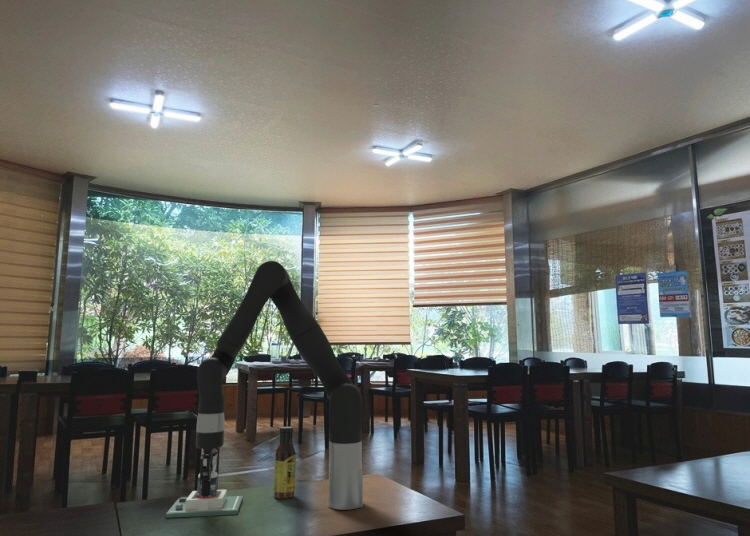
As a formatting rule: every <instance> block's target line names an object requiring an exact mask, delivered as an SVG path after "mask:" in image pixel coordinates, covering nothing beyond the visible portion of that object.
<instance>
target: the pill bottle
mask: <svg viewBox="0 0 750 536" xmlns="http://www.w3.org/2000/svg"><path fill="white" fill-rule="evenodd" d="M210 469H211V467H210ZM215 470H216V472H215ZM218 475H219V474H218V472H217V466H216V464H214V471H213V472H212V474H211V484H210V495H209V496H201V488H202V482H201V481H200V473H199V474H198V476H197V490H196V491H197V498H216V497H217V490H218V477H219V476H218ZM204 476H208V473H204Z"/></svg>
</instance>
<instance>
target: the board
mask: <svg viewBox="0 0 750 536" xmlns="http://www.w3.org/2000/svg"><path fill="white" fill-rule="evenodd" d="M227 495H228V489H217V497H216V498H197V490H192V492H191V493H190V494H189V495H188V496H181V497H179V498H177V500H176V501H175V502H174V503H173V505H171V507H170V508H169V509H168V511H167V512H166V513H165V519H167V518H168V519H170V518H188V517H189V518H190V517H209V516H227V515H228V516H229V515H238V514H239V512H240V511H239V510H240V507H241V505H242V502H243V501H244V500H243V497H244V496H243V495H237V496H236V495H235V496H233V495H232V496H231V495H229V496H227Z"/></svg>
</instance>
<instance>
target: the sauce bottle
mask: <svg viewBox="0 0 750 536" xmlns="http://www.w3.org/2000/svg"><path fill="white" fill-rule="evenodd" d="M293 433H294V427H293V426H280V427H279V444H278V445H277V447H276V450H275V458H274V473H273V474H274V475H273V491H274V492H273V497H274V498H275V499H280V500H285V499H291V498H293V497H294V496H295V491H296V472H297V471H296V466H297V465H296V464H297V453H296V450H295V446H294V443H293Z"/></svg>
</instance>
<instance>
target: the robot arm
mask: <svg viewBox="0 0 750 536" xmlns="http://www.w3.org/2000/svg"><path fill="white" fill-rule="evenodd" d="M269 300H270V301H272V303H273V304H274V305H275V307H276V309H277V311H278V312H279V314H280V316H281V317H280V318H282V322H283V324H284V327H285V329H286V332H287V334H288V337H290V340H291V342H292V343H293V345H294V347H295V348H296V350H297V351H298V354H300V356H301V357H302V359H303V360H304V362H305V363H306V364H307V365H308V367H309V368H310V369H311V371H312V372H313V373H314V374H315V375H316V376H317V378H318V379H319V380H320V382H321V385H322V386H323V388H324V390H325V393H326V395H327V397H328V399H329V403H328V404H329V405H328V406H329V407H328V409H329V410H328V417H329V418H328V421H329V422H328V424H329V425H328V431H329V432H328V433H329V434H328V436H329V441H328V443H329V447H328V451H329V452H328V454H329V456H328V507H330V509H334V510H340V511H345V510H355V509H359V508H363V507H364V505H363V504H364V480H363V479H364V471H363V469H362V466H363V465H362V464H363V463H362V462H363V459H362V457H363V456H362V455H363V454H362V451H363V449H362V448H363V446H362V443H363V442H362V441H363V438H362V437H363V436H362V435H363V398H362V394H361V391H360V390H359V388H358V387H357V386H356V385H355V384H354V382H352V380H351V379H350V377H349V376H348V375H347V374H346V372H345V370H344V369H343V368H342V366H341V364H340V363H339V361H338V359H337V356H336V354H335V352H334V349H333V347H332V345H331V343H330V341H329V340H328V338H327V336H326V334H325V332H324V330H323V329H322V328H321V326H320V324H319V323H318V321H317V320H316V318H315V316H313V314H312V312H311V311H310V310H309V309H308V307H307V306H306V305H305V304H304V303H303V301H302V300H301V298H300V296H299V294H298V293H297V291H296V289H295V287H294V285H293V283H292V281H291V278H290V276H289V274H288V271H287V270H286V268H285V267H284V266H283V265H282V264H281V263H280V262H278V261H275V260H266V261H264V262H262V263H261V264H260V265H259V266H257V269H256V270H255V273H254V275H253V277H252V280H251V282H250V285H249V287H248V289H247V292H246V293H245V295H244V298H243V299H242V301H241V303H240V304H239V306H238V308H237V309H236V311H235V313H234V314H233V316H232V317H231V319H230V320H229V322H228V323H227V325H226V327H225V328H224V330H223V332H222V333H221V334H220V336H219V338H218V340H217V342H216V348H215V350H214V352H213V353H212V355H211V357H207V358H205V359H204V360H202V361H201V362H200V364H199V365H198V367H197V373H196V374H197V375H196V379H197V380H196V381H197V389H198V390H197V391H198V395H199V399H198V410H197V412H198V413H197V420H196V431H195V432H196V435H195V436H196V437H195V448H196V449H199V450H203V452H202V454H201V455H200V460H199V463H200V464H199V474H200V481H201V482H202V488H201V496H209V495H210V484H211V474H212V472H213V471H214V464H216V467H217V463H218V462H217V460H218V450H217V449H219V448H222V447H223V446H224V444H225V443H224V442H225V440H224V439H225V422H226V421H225V420H226V419H225V401H226V398H225V393H223V387H222V386H223V383H222V381H223V380H224V379H225V378H226V377H227V375H228V374H229V373H230V371H231V369H232V367H233V365H234V363H235V361H236V358H237V357H238V354H239V352H240V351H241V350H242V348H243V347H244V345H245V344H246V342H247V340H248V339H249V337H250V335H251V333H252V331H253V329H254V328H255V324H256V323H257V320H258V319H259V316H260V313H261V312H262V310H263V309H264V307H265V305H266V304H267V302H268V301H269ZM210 467H211V469H210ZM215 472H217V469H216V470H215ZM204 473H208V476H204Z"/></svg>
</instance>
